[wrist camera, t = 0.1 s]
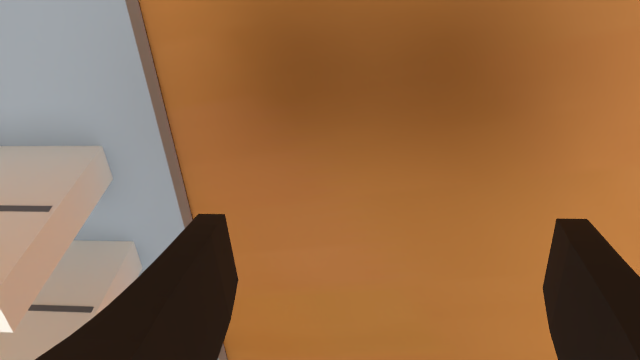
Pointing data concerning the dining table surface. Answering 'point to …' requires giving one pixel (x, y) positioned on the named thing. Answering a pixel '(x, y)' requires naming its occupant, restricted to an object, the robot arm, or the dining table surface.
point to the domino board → (96, 111)
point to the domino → (72, 296)
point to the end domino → (42, 215)
